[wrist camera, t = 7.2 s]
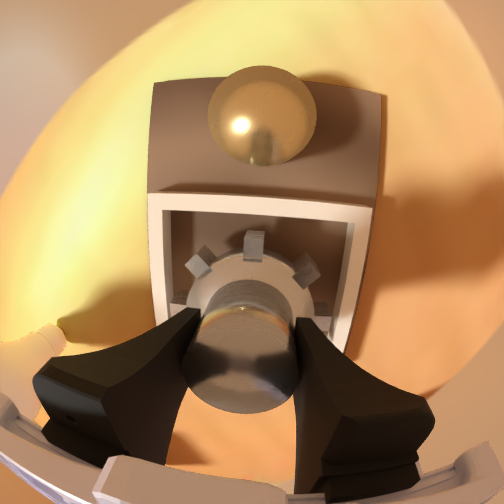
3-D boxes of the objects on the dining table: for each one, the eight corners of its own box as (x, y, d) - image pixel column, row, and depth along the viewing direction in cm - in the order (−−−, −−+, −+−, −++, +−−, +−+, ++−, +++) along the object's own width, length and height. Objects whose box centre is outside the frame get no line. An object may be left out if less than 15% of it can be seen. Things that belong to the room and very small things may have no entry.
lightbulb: (97, 340, 18) (16, 437, 7) (76, 370, 19) (14, 449, 9) (46, 284, 17) (-51, 354, 6) (32, 323, 18) (-41, 387, 8)
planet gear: (313, 364, 15) (324, 439, 9) (184, 353, 15) (153, 421, 10) (336, 237, 12) (377, 283, 7) (177, 225, 13) (119, 263, 8)
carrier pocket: (330, 372, 16) (333, 384, 15) (168, 357, 17) (162, 368, 16) (364, 204, 13) (372, 208, 12) (157, 191, 14) (147, 193, 12)
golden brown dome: (306, 170, 13) (313, 170, 10) (216, 164, 13) (204, 163, 11) (310, 86, 11) (317, 70, 9) (222, 82, 12) (211, 65, 9)
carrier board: (335, 373, 17) (336, 378, 16) (163, 358, 18) (161, 362, 17) (377, 96, 12) (380, 94, 11) (157, 85, 12) (153, 82, 12)
